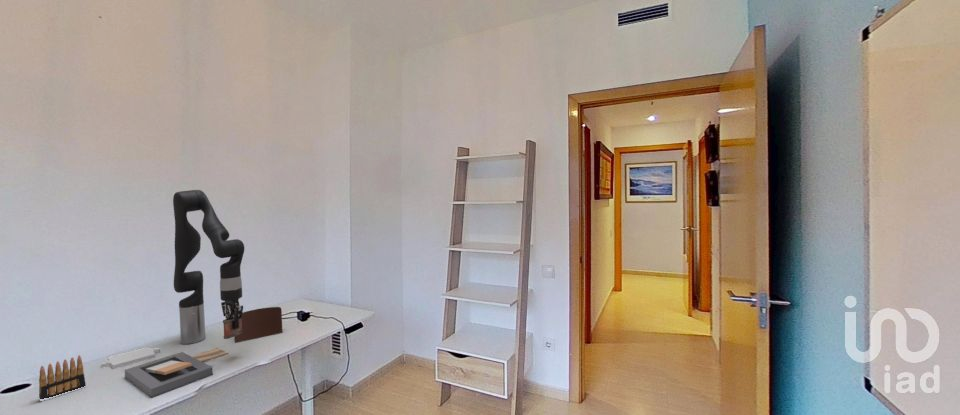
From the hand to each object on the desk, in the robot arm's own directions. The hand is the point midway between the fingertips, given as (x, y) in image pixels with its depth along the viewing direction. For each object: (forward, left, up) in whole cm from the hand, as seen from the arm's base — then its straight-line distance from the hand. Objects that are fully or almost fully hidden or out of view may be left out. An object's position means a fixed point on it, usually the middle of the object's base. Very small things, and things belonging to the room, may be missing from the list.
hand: (233, 327), depth 152 cm
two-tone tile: (-6, -20, -10) cm, 23 cm away
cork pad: (-13, -4, -13) cm, 19 cm away
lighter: (0, 0, -4) cm, 4 cm away
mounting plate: (-40, -22, -14) cm, 48 cm away
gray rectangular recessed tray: (-6, -20, -13) cm, 25 cm away
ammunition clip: (-24, -44, -14) cm, 52 cm away
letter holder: (-19, +19, -14) cm, 30 cm away
